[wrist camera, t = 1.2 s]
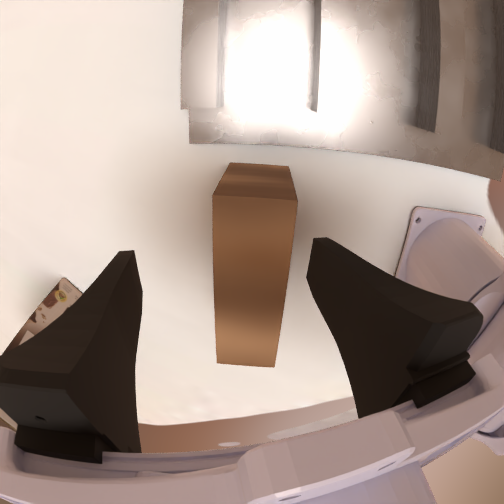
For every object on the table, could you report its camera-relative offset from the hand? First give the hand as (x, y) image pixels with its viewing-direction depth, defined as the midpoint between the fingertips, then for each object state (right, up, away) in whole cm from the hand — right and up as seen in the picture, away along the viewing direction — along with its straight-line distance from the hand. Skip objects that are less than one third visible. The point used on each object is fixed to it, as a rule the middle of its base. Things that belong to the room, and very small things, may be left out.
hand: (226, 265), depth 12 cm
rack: (+10, +16, +2) cm, 18 cm away
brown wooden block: (+1, +1, +11) cm, 11 cm away
